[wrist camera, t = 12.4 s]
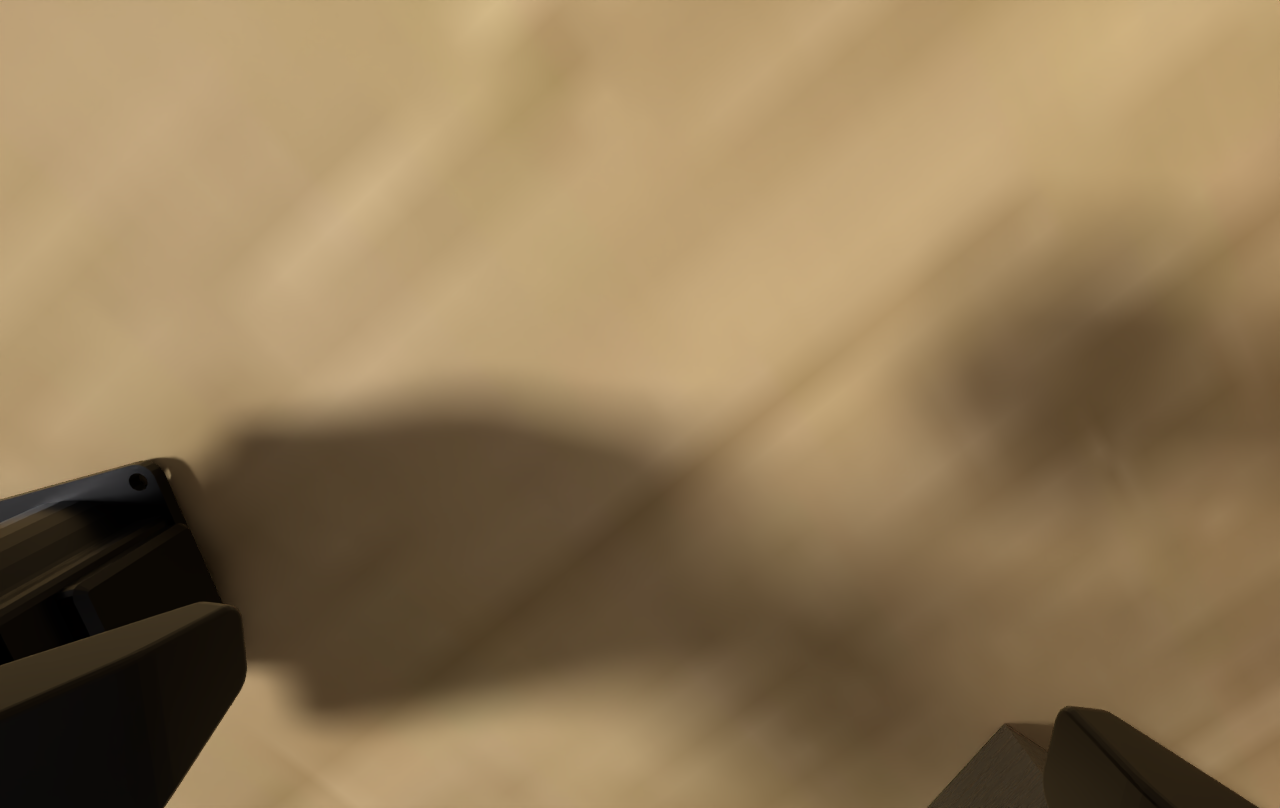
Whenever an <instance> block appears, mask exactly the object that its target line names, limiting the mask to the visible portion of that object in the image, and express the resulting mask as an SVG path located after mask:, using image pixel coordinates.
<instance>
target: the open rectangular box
mask: <svg viewBox="0 0 1280 808" xmlns="http://www.w3.org/2000/svg"><path fill="white" fill-rule="evenodd" d="M1047 753H1048V752H1047V751H1045V750H1044V749H1042V748H1041V747H1039V746H1038V745H1036V744H1035V743H1033V742H1032V741H1030V740H1029V739H1027V738H1026V737H1024V736H1023V735H1021V734H1020V733H1018V732H1017V731H1015V730H1013V729H1012V728H1010V727H1009V726H1007V725H1006V724H1004V725H1003V726H1002V727H1001V728H1000V730H999V731H998V732H997V733H996V734H995V735H994V736H993V737H992V738H991V739H990V740H989V742H988V743H987V744H986V745H985V746H984V747H983V748H982V749H981V750H980V751H979V752H978V754H977V755H976V756H975V757H974V758H973V759H972V760H971V761H970V762H969V763H968V764H967V766H966V767H965V768H964V769H963V770H962V771H961V772H960V773H959V774H958V775H957V776H956V778H955V779H954V780H953V781H952V782H951V783H950V784H949V785H948V786H947V787H946V788H945V790H944V791H943V792H942V793H941V794H940V795H939V796H938V797H937V798H936V799H935V800H934V802H933V803H932V804H931V805H930V806H929V807H928V808H1048V806H1047V803H1046V799H1045V796H1044V790H1043V771H1044V766H1045V762H1046V757H1047Z"/></svg>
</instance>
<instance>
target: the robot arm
mask: <svg viewBox="0 0 1280 808" xmlns="http://www.w3.org/2000/svg"><path fill="white" fill-rule="evenodd" d="M139 474H141V475H143V476H144V477H145V478H146V479H147V484H148V485H147V486H146V485H144V484H142V483H141V481H140V480H139ZM246 672H247V662H246V652H245V642H244V633H243V623H242V616H241V613H240V612H239V610H238V609H237V608H236V607H235V606H233V605H228V604H222V603H221V599H220V597H219V595H218V593H217V590H216V588H215V586H214V583H213V581H212V579H211V577H210V574H209V572H208V570H207V568H206V565H205V563H204V561H203V558H202V556H201V554H200V552H199V549H198V547H197V545H196V542H195V540H194V538H193V536H192V533H191V531H190V529H189V528H188V526H187V524H186V522H185V519H184V517H183V515H182V512H181V510H180V508H179V506H178V503H177V501H176V499H175V496H174V494H173V492H172V490H171V487H170V485H169V483H168V481H167V478H166V476H165V474H164V472H163V470H162V469H161V468H160V467H159V466H158V465H157V464H155V463H154V462H151V461H139V462H135V463H131V464H128V465H124V466H120V467H117V468H113V469H109V470H106V471H102V472H99V473H95V474H91V475H88V476H84V477H80V478H77V479H73V480H69V481H66V482H62V483H58V484H55V485H51V486H48V487H44V488H40V489H37V490H33V491H29V492H26V493H22V494H18V495H15V496H11V497H8V498H4V499H0V808H164V807H165V806H166V804H167V803H168V801H169V800H170V798H171V797H172V795H173V794H174V793H175V791H176V789H177V788H178V786H179V785H180V783H181V782H182V780H183V779H184V777H185V776H186V774H187V773H188V771H189V769H190V768H191V766H192V765H193V763H194V762H195V760H196V759H197V757H198V756H199V754H200V752H201V751H202V749H203V748H204V746H205V745H206V743H207V742H208V740H209V739H210V737H211V735H212V734H213V732H214V731H215V729H216V728H217V726H218V725H219V723H220V722H221V720H222V719H223V717H224V715H225V714H226V712H227V711H228V709H229V708H230V706H231V705H232V703H233V702H234V700H235V698H236V697H237V695H238V694H239V692H240V690H241V688H242V686H243V684H244V681H245V678H246ZM1043 790H1044V796H1045V799H1046V803H1047V806H1048V808H1259V807H1257V806H1255V805H1254V804H1252V803H1251V802H1249V801H1248V800H1246V799H1244V798H1243V797H1241V796H1240V795H1238V794H1237V793H1235V792H1234V791H1232V790H1230V789H1229V788H1227V787H1226V786H1224V785H1223V784H1221V783H1219V782H1218V781H1216V780H1215V779H1213V778H1212V777H1210V776H1209V775H1207V774H1205V773H1204V772H1202V771H1201V770H1199V769H1198V768H1196V767H1195V766H1193V765H1191V764H1190V763H1188V762H1187V761H1185V760H1184V759H1182V758H1180V757H1179V756H1177V755H1176V754H1174V753H1173V752H1171V751H1170V750H1168V749H1166V748H1165V747H1163V746H1162V745H1160V744H1159V743H1157V742H1155V741H1154V740H1152V739H1151V738H1149V737H1148V736H1146V735H1145V734H1143V733H1141V732H1140V731H1138V730H1137V729H1135V728H1134V727H1132V726H1131V725H1129V724H1127V723H1126V722H1124V721H1123V720H1121V719H1120V718H1118V717H1116V716H1115V715H1113V714H1112V713H1110V712H1108V711H1105V710H1101V709H1092V708H1083V707H1075V706H1066V707H1064V708H1063V709H1061V710H1060V711H1059V713H1058V715H1057V717H1056V720H1055V724H1054V728H1053V732H1052V737H1051V741H1050V745H1049V749H1048V753H1047V757H1046V762H1045V766H1044V771H1043Z"/></svg>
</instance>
